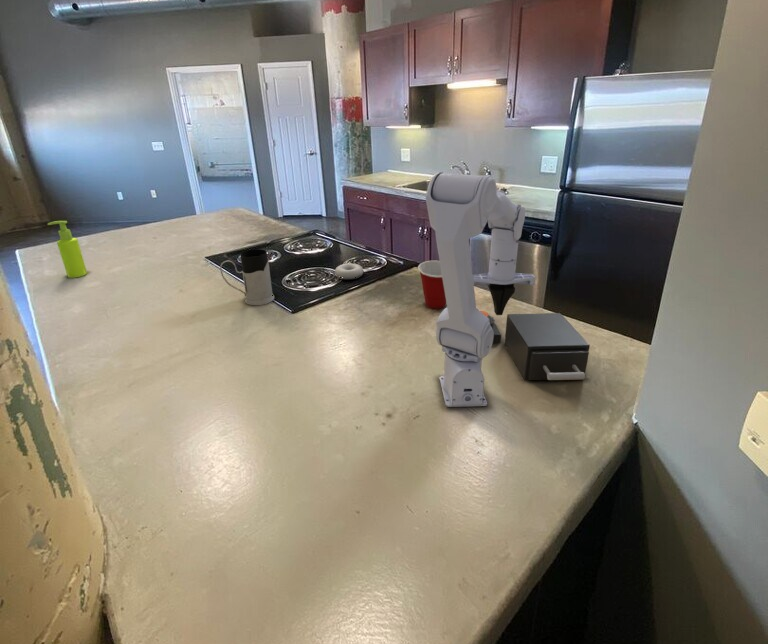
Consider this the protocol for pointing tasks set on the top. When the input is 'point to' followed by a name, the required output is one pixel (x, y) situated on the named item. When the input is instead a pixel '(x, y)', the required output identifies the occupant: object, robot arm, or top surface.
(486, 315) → the button
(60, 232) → the soap dispenser
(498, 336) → the control block
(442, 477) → the top surface
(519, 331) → the grey drawer box
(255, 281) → the silver mug
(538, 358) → the drawer
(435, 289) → the plastic cup
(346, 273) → the donut
